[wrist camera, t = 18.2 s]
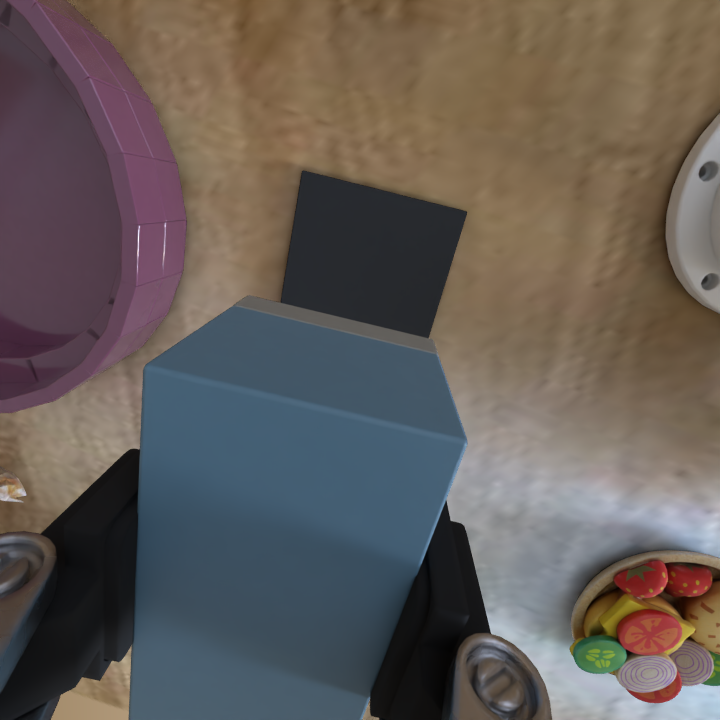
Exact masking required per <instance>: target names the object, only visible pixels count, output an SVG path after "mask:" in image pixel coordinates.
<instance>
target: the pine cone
mask: <svg viewBox="0 0 720 720" xmlns="http://www.w3.org/2000/svg"><path fill="white" fill-rule="evenodd" d="M21 496H26V492H25V489H24V487H23V486H22V484H21V482H20V480H19V479H18V477H17V476H16V475H15V474H13V473H12V472H10V471H7V470H5V469H4V468H3V467H1V466H0V500H4V501H12V502H22V501H21V500H19V499H17V498H16V497H21Z"/></svg>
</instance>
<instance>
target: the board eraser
mask: <svg viewBox="0 0 720 720" xmlns="http://www.w3.org/2000/svg"><path fill="white" fill-rule="evenodd" d="M466 447H467V438H466V435H465V432H464V429H463V426H462V423H461V420H460V417H459V414H458V412H457V409H456V406H455V403H454V400H453V397H452V394H451V391H450V388H449V385H448V383H447V380H446V377H445V374H444V371H443V368H442V365H441V362H440V359H439V356H438V352H437V349H436V346H435V343H434V341H433V340H432V339H429V338H425V337H420V336H416V335H412V334H408V333H404V332H400V331H396V330H391V329H387V328H383V327H379V326H375V325H371V324H366V323H362V322H358V321H354V320H350V319H346V318H342V317H337V316H333V315H329V314H325V313H321V312H317V311H312V310H308V309H304V308H300V307H296V306H292V305H288V304H283V303H279V302H275V301H271V300H267V299H263V298H258V297H254V296H250V295H248V296H246V297H244V298H243V299H241V300H240V301H239V302H237V303H236V304H234V305H233V306H232V307H230V308H229V309H228V310H226V311H225V312H223V313H222V314H220V315H219V316H217V317H216V318H214V319H213V320H211V321H210V322H208V323H207V324H205V325H204V326H202V327H201V328H199V329H198V330H196V331H195V332H193V333H192V334H190V335H189V336H187V337H186V338H184V339H183V340H181V341H180V342H178V343H177V344H176V345H174V346H173V347H171V348H170V349H168V350H167V351H165V352H164V353H162V354H161V355H159V356H158V357H156V358H155V359H153V360H152V361H150V362H149V363H147V364H146V365H145V367H144V370H143V389H142V413H141V437H140V461H139V485H138V509H137V513H138V532H137V555H136V578H135V601H134V624H133V643H132V652H131V676H130V700H129V720H362V718H363V715H364V713H365V710H366V707H367V705H368V702H369V700H370V695H371V692H372V689H373V686H374V684H375V681H376V679H377V676H378V673H379V671H380V668H381V665H382V663H383V660H384V658H385V655H386V652H387V650H388V647H389V645H390V642H391V639H392V637H393V634H394V632H395V629H396V626H397V624H398V621H399V618H400V616H401V613H402V611H403V608H404V605H405V603H406V600H407V598H408V595H409V592H410V590H411V587H412V585H413V582H414V579H415V577H416V576H417V574H418V572H419V569H420V567H421V564H422V561H423V559H424V556H425V554H426V551H427V548H428V546H429V543H430V540H431V538H432V535H433V533H434V530H435V527H436V525H437V522H438V520H439V517H440V514H441V512H442V509H443V507H444V504H445V501H446V499H447V496H448V493H449V491H450V488H451V486H452V483H453V480H454V478H455V475H456V473H457V470H458V467H459V465H460V462H461V460H462V457H463V454H464V452H465V449H466Z"/></svg>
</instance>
